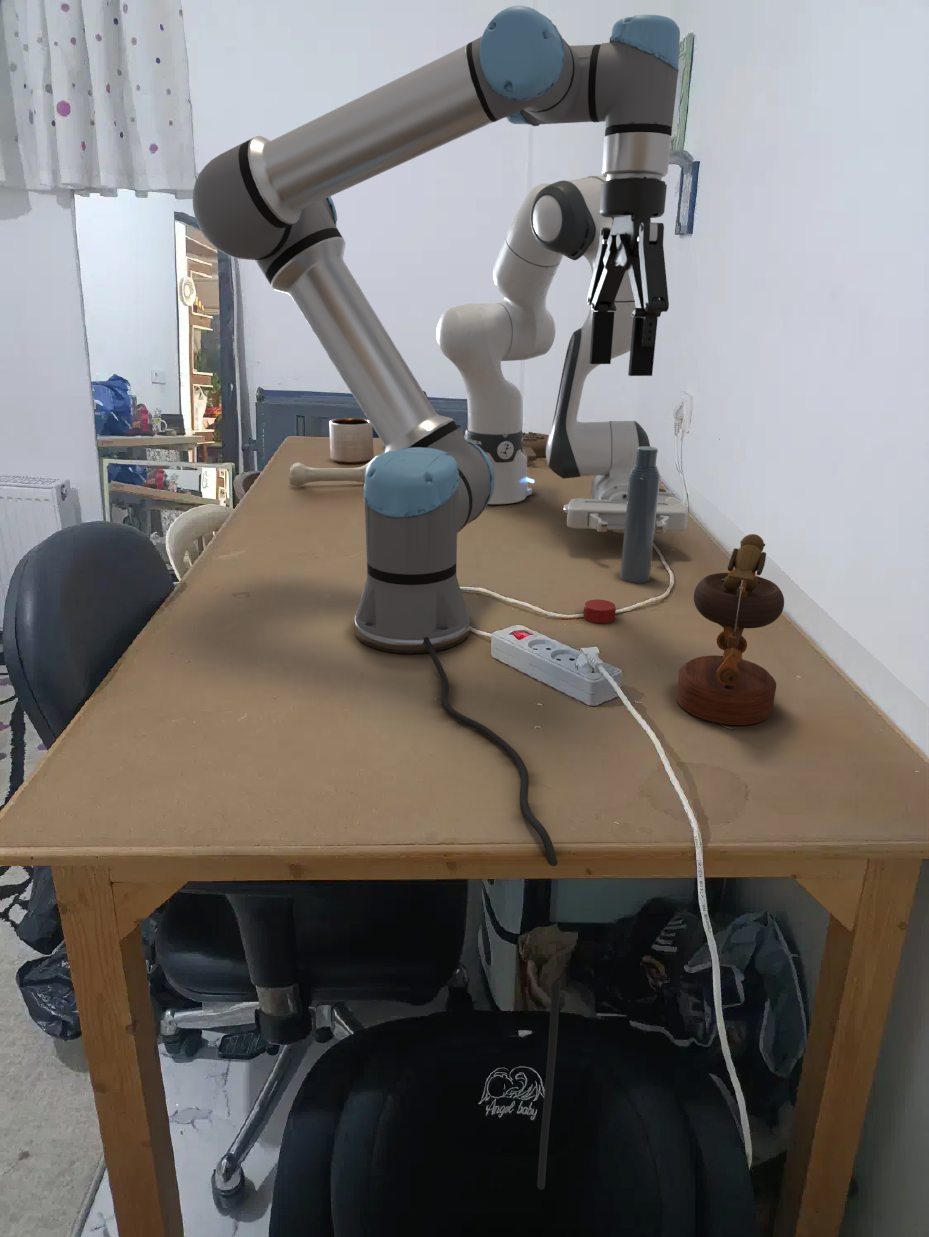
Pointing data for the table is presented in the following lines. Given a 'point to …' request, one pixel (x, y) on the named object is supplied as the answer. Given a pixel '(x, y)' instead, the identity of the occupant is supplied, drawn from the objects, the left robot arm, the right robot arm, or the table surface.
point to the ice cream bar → (534, 445)
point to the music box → (733, 642)
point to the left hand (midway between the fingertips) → (618, 369)
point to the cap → (599, 611)
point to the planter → (351, 440)
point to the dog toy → (324, 474)
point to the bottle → (640, 516)
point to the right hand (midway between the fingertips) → (632, 528)
